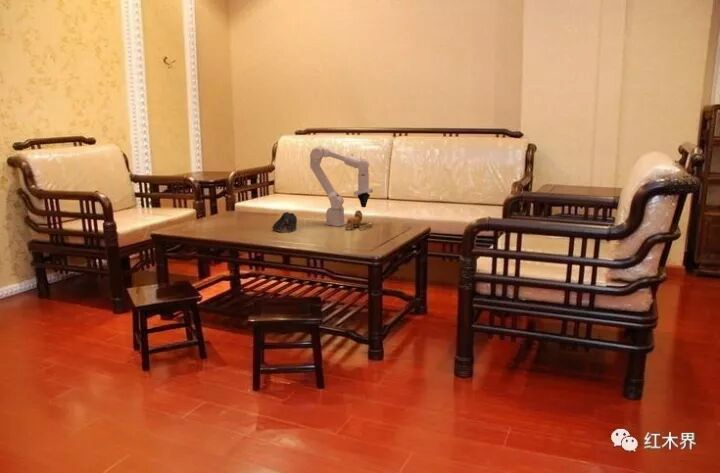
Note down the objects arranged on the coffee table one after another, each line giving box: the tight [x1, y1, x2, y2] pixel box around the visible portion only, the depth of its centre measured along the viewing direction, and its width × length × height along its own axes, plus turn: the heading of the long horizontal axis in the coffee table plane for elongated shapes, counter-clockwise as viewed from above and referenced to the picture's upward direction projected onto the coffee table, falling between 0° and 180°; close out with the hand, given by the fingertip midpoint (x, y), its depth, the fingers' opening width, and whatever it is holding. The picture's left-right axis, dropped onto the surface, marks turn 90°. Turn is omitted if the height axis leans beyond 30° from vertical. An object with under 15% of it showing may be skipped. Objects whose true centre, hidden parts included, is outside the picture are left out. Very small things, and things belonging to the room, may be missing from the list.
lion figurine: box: [344, 210, 363, 231], centre depth 309 cm, size 15×5×9 cm, turn 153°
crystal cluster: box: [272, 211, 298, 233], centre depth 307 cm, size 13×14×10 cm
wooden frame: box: [348, 221, 373, 232], centre depth 311 cm, size 9×10×2 cm
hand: (363, 207), depth 317 cm, fingers closed
